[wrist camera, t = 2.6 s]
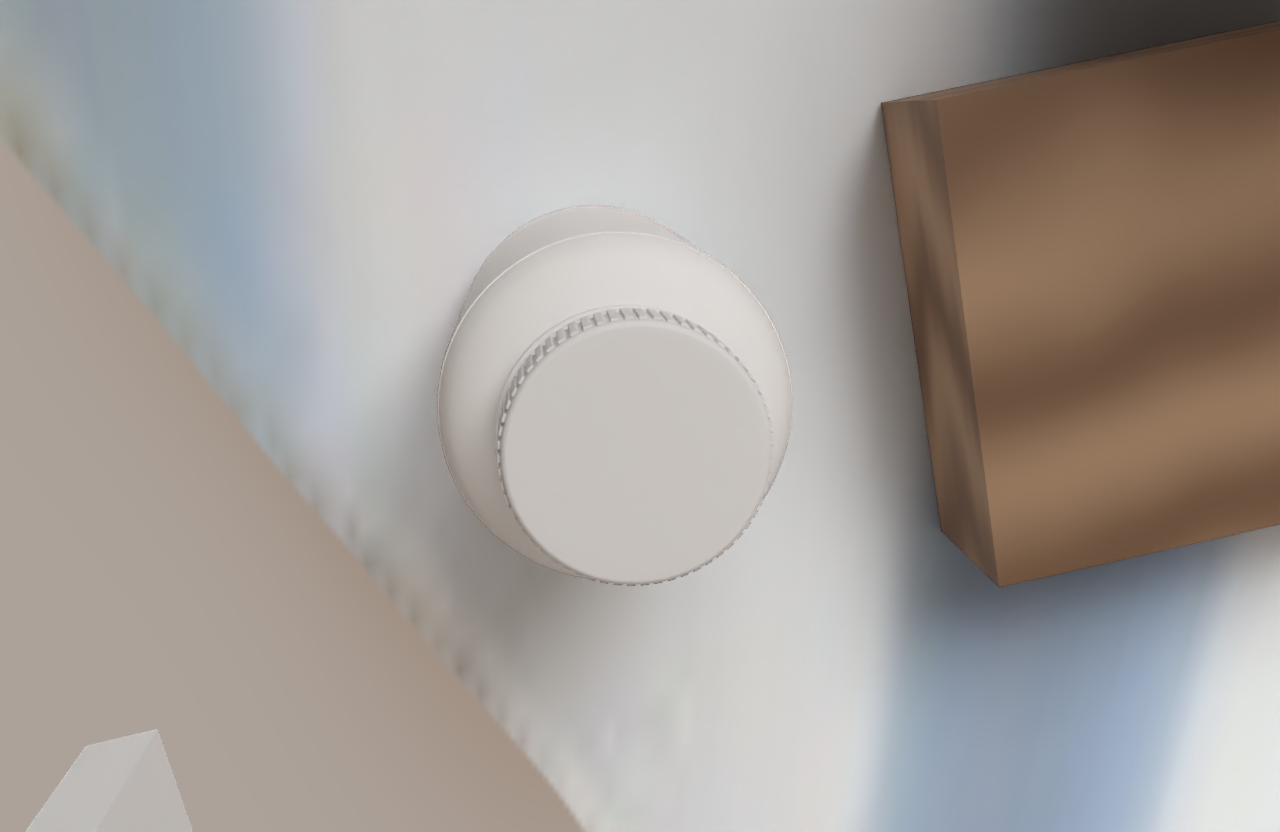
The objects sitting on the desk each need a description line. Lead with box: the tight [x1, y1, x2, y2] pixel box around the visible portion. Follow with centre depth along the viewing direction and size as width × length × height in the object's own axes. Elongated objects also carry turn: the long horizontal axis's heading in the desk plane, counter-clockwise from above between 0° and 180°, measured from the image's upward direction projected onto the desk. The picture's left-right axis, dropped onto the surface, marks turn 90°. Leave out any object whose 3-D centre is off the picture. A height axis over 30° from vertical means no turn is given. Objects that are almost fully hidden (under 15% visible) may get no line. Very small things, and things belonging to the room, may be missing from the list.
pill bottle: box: [437, 205, 793, 586], centre depth 30 cm, size 8×8×15 cm
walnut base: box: [881, 21, 1280, 587], centre depth 36 cm, size 14×14×5 cm
